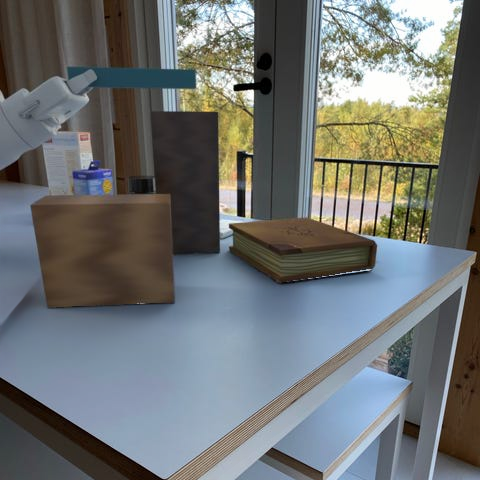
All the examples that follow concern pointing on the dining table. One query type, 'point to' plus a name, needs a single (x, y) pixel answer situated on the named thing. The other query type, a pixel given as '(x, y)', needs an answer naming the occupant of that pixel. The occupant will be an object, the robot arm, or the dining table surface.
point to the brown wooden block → (105, 249)
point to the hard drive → (226, 228)
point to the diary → (301, 248)
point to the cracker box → (66, 159)
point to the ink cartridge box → (93, 180)
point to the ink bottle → (141, 185)
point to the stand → (189, 176)
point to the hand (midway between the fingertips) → (97, 74)
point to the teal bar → (138, 77)
